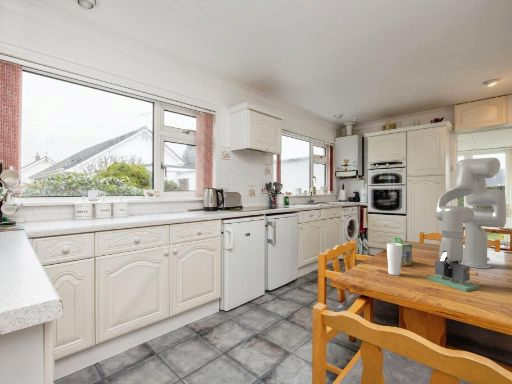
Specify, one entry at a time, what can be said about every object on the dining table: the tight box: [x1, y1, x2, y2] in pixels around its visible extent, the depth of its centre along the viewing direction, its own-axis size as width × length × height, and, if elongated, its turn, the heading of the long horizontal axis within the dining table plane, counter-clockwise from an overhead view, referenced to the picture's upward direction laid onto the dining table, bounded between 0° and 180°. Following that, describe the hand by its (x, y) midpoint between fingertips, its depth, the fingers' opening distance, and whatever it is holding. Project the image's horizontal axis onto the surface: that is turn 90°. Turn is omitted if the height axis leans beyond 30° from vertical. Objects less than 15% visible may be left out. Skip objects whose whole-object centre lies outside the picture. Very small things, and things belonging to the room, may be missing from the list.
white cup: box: [386, 242, 402, 277], centre depth 129 cm, size 7×7×15 cm
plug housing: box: [434, 259, 479, 282], centre depth 114 cm, size 5×16×6 cm, turn 23°
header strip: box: [426, 274, 480, 292], centre depth 116 cm, size 9×16×5 cm, turn 23°
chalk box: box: [386, 236, 413, 267], centre depth 147 cm, size 9×9×15 cm
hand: (451, 275), depth 116 cm, fingers closed on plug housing, 4 cm apart
